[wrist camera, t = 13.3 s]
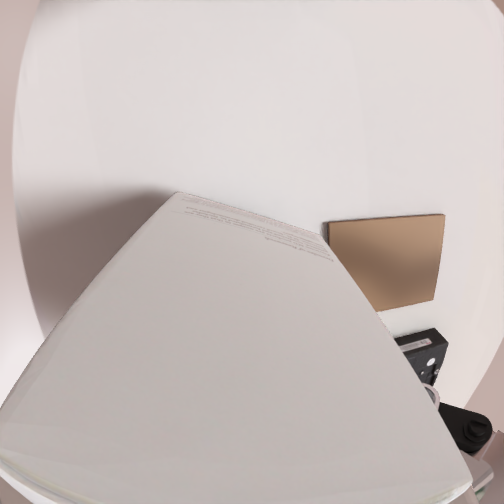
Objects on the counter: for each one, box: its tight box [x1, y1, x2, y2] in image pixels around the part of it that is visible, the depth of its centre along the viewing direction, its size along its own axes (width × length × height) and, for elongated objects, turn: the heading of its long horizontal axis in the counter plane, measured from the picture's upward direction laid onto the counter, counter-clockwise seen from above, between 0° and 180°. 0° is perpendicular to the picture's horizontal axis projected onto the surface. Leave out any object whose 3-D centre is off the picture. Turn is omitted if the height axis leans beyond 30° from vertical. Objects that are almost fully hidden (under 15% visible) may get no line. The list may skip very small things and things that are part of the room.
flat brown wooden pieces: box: [328, 214, 445, 312], centre depth 22 cm, size 41×8×1 cm, turn 5°
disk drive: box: [394, 328, 449, 387], centre depth 20 cm, size 10×3×15 cm
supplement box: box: [0, 192, 473, 504], centre depth 9 cm, size 7×7×13 cm
